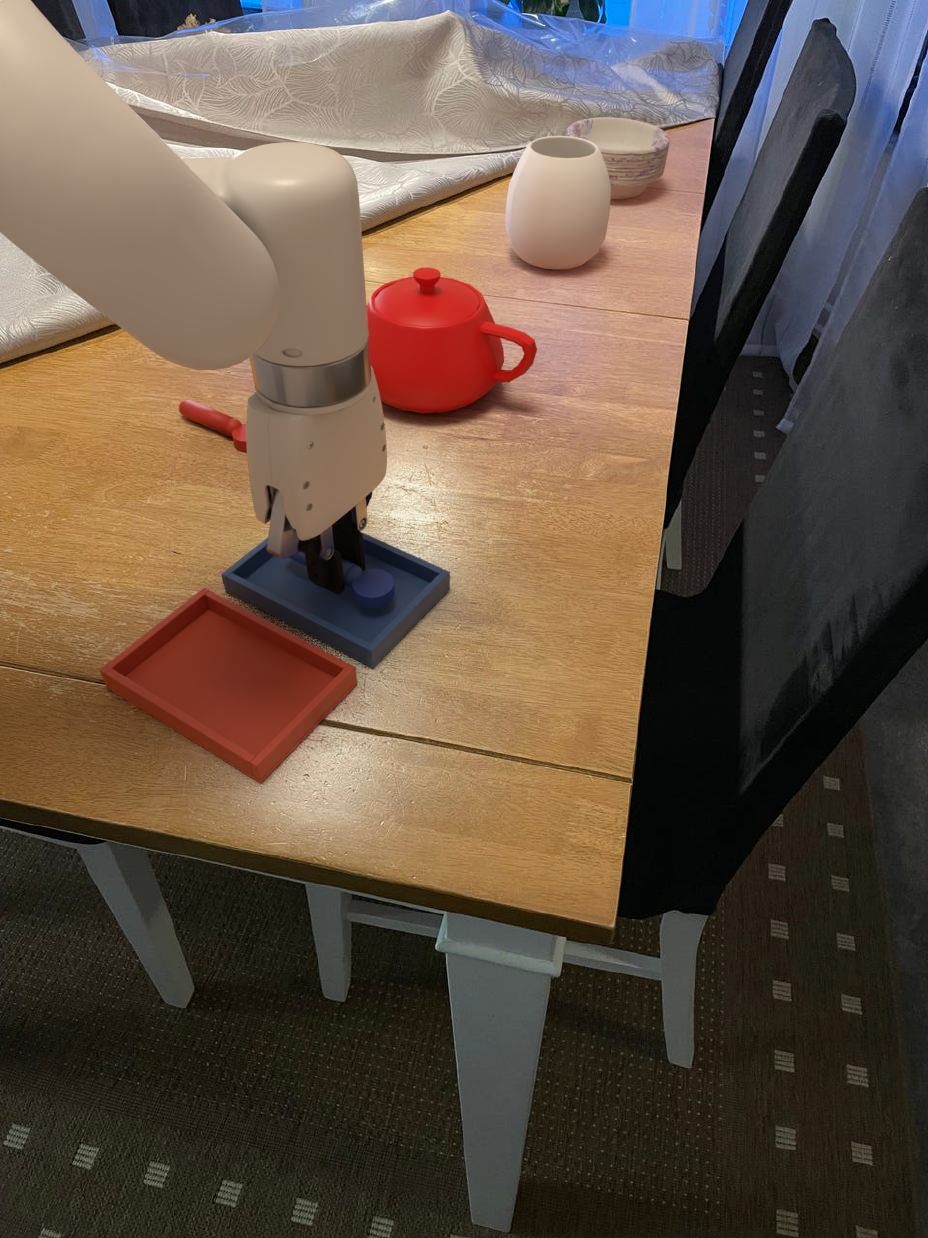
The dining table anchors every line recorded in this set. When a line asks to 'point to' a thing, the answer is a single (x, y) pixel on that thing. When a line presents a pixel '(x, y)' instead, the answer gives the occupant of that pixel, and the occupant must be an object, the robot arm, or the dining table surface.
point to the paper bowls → (626, 151)
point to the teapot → (437, 343)
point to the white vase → (558, 202)
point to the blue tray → (340, 598)
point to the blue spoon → (364, 583)
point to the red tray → (231, 682)
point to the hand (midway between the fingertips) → (337, 575)
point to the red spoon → (215, 421)
